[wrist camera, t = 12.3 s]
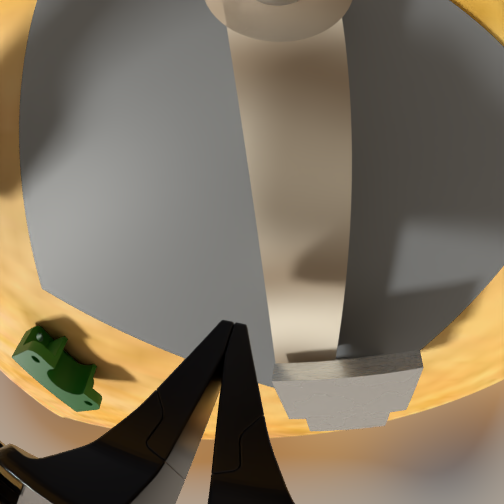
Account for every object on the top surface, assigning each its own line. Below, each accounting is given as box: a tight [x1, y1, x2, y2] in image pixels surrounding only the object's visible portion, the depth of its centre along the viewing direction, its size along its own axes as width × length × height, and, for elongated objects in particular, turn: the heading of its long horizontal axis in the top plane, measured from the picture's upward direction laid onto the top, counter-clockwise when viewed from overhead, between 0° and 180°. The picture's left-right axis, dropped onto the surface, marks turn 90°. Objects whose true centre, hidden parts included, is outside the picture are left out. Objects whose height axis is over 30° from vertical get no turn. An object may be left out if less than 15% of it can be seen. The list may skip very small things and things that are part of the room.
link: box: [205, 0, 352, 363], centre depth 10 cm, size 20×4×4 cm, turn 8°
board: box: [19, 0, 504, 388], centre depth 13 cm, size 28×26×1 cm
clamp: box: [12, 326, 102, 412], centre depth 27 cm, size 12×6×9 cm, turn 20°
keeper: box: [272, 350, 423, 431], centre depth 16 cm, size 8×7×5 cm
